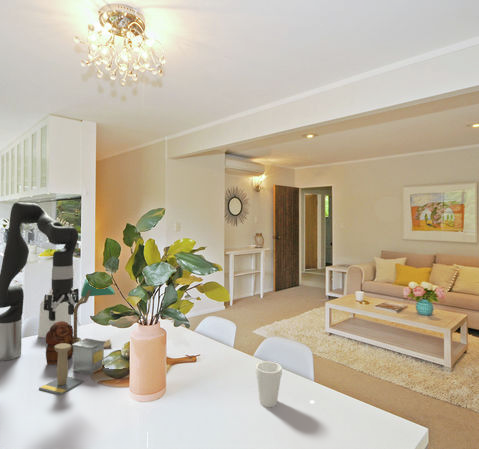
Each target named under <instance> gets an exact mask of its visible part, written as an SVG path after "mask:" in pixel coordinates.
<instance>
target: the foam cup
mask: <svg viewBox="0 0 479 449" xmlns="http://www.w3.org/2000/svg"><path fill="white" fill-rule="evenodd" d="M282 371H283V368H282V366H281V364H279V363H277V362H275V361H268V360H267V361H261V362H258V363H256V365H255V374H256V380H257V390H258V391H257V392H258V401H259V404H260V405H261V406H262V407H265V408H273V407H275V406H276V405H277V403H278V397H279V391H280V384H281V379H282V375H283V374H282V373H283V372H282Z"/></svg>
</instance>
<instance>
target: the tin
mask: <svg viewBox="0 0 479 449" xmlns="http://www.w3.org/2000/svg"><path fill="white" fill-rule="evenodd" d="M104 341H105V340H99V339H91V338H83V339H81V341H79V342H76V343H74V344H72V346H73V353H72V355H73V357H72V362H73V363H72V364H73V365H72V371H73V372H76V373H81V374H85V375H88V376H89V375H91V376H92V375H94V374H95V373H94V372H95V371H97V370H98V369H100V368H101V367H102V360H103V359H104V360H105V358H104V357H105V355H104V354H105V352H104V351H105V349H104V343H105V342H104ZM97 372H98V371H97ZM93 373H94V374H93Z"/></svg>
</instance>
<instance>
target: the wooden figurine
mask: <svg viewBox="0 0 479 449" xmlns="http://www.w3.org/2000/svg"><path fill="white" fill-rule="evenodd" d="M73 334H74V327H73V325H72V324H71V325H69V324H68V323H67V322H64V321H59V322H56V323H55V324H53V325H52V326H51V327H50V331H48V332H47V334H46V338H45V344H46V347H45V359H46V364H47V365H49V366H50V365H57V361H58V352H56V351H55V349H54V346H55V345H57V344H61V343H67V344H70V345H72V344H73ZM67 357H68V360H69V359H70V358H73V353H72V346H71V349H70V350H69V351H68V352H67Z"/></svg>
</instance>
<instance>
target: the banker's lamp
mask: <svg viewBox="0 0 479 449" xmlns="http://www.w3.org/2000/svg"><path fill="white" fill-rule="evenodd" d="M110 295H111V296H112V295H116V292H115V290H114V288H113V287H112V286H109V287H107V288H105V289H96V288H94V287H92V286H90V285H89V283H88V281H87V278H85V280H84V283H83V286H82V288H81V291H80V298H79V302H78V303H76V304H75V305H74V313H73V344H74V343H76V342H79V341H81V340H82V338H80V337H78V309H79V307H80V306H81V305H83V304H86V303H87V302H88V301H89V298H90V297H99V296H110ZM103 341H104V342H105V343H104V350H106V349H112V341H111V338H109V339H107V340H103ZM71 346H72V345H71ZM72 354H73V346H72Z"/></svg>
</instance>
